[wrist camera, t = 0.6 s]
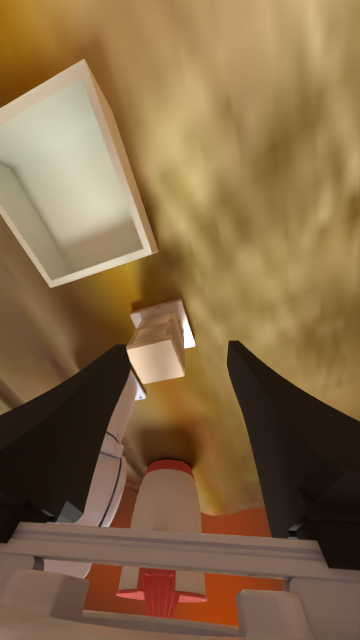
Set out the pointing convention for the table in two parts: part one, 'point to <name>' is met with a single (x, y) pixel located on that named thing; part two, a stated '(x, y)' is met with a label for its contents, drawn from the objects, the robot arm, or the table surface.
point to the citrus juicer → (165, 515)
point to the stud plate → (166, 308)
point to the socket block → (158, 349)
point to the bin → (70, 180)
